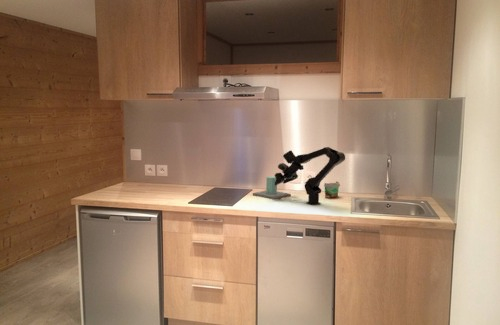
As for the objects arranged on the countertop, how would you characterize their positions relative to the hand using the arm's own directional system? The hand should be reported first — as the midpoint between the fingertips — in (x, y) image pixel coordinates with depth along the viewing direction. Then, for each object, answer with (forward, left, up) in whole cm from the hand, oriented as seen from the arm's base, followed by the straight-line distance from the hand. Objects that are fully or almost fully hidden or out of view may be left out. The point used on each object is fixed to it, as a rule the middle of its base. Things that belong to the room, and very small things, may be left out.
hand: (279, 184), depth 251 cm
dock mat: (+6, +2, -9) cm, 11 cm away
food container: (-17, -32, -9) cm, 37 cm away
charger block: (+6, +2, -7) cm, 10 cm away
